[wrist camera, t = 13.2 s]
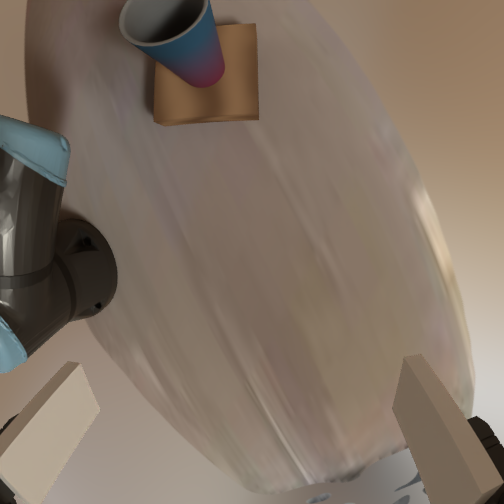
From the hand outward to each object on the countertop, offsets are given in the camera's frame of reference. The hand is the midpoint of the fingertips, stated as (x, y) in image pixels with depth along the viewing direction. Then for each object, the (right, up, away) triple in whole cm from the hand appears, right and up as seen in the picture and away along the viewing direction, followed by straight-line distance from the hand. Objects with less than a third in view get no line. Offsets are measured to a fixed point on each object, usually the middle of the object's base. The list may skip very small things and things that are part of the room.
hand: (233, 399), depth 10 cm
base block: (-4, +27, +23) cm, 36 cm away
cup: (-5, +26, +19) cm, 33 cm away
